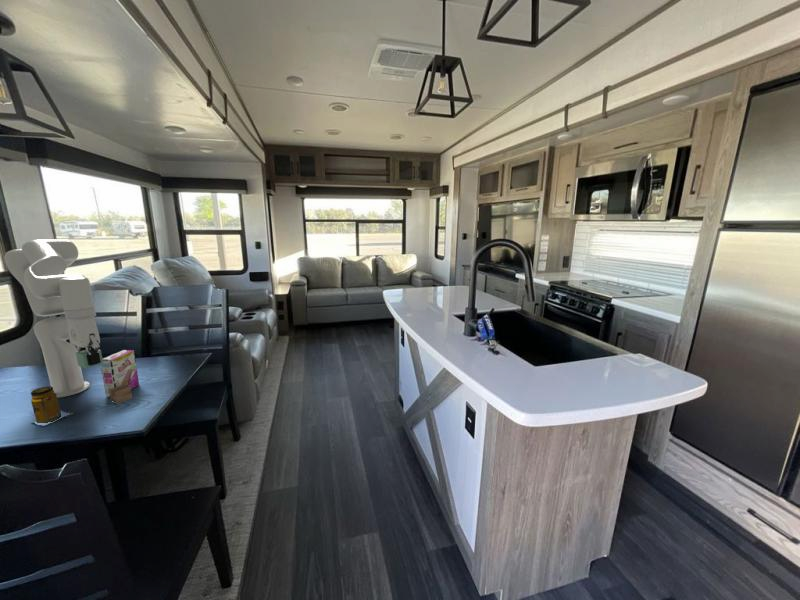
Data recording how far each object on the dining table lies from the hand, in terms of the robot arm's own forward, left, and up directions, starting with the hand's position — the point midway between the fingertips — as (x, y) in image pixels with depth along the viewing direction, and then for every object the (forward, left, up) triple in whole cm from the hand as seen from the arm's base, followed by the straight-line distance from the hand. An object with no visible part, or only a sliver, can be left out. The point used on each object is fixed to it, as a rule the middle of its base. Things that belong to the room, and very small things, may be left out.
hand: (90, 362), depth 114 cm
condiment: (-12, -9, -21) cm, 26 cm away
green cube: (0, 0, -1) cm, 1 cm away
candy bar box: (-13, +13, -21) cm, 28 cm away
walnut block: (-6, +9, -21) cm, 24 cm away
